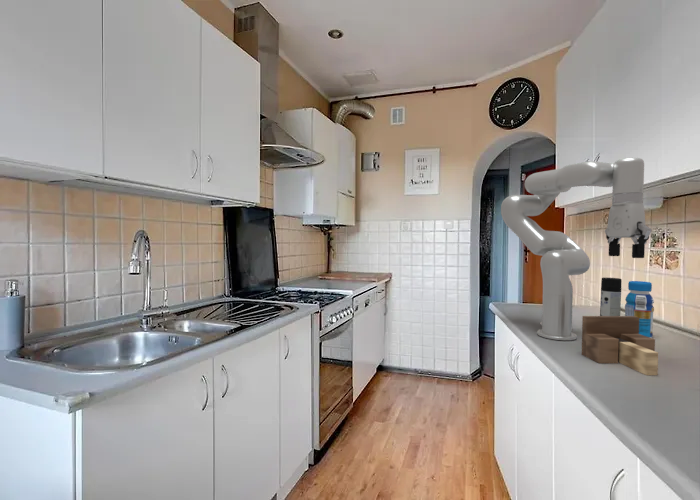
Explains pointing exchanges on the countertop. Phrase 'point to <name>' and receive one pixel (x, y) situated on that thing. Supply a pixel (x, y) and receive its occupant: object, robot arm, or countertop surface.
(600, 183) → the robot arm
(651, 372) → the silver and tan rail
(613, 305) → the spray can
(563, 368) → the countertop surface
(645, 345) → the wooden two-prong bracket
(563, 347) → the countertop surface
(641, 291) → the beverage bottle
